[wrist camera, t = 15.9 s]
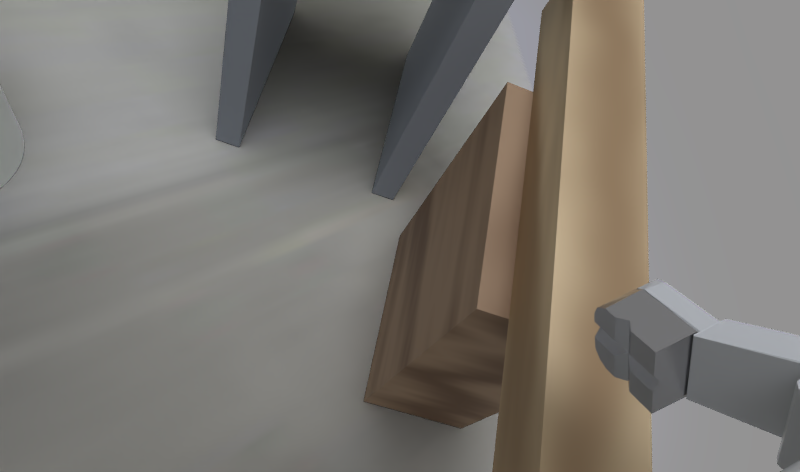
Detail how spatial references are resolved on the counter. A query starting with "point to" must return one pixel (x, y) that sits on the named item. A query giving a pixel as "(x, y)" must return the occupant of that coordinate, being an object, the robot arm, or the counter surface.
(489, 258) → the walnut block
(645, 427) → the oak slat
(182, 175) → the counter surface
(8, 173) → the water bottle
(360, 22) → the counter surface
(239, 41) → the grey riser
